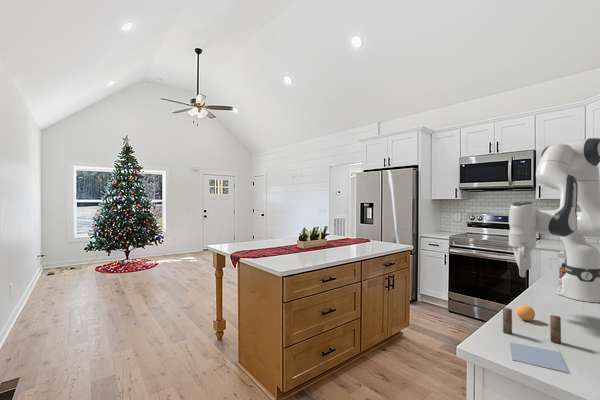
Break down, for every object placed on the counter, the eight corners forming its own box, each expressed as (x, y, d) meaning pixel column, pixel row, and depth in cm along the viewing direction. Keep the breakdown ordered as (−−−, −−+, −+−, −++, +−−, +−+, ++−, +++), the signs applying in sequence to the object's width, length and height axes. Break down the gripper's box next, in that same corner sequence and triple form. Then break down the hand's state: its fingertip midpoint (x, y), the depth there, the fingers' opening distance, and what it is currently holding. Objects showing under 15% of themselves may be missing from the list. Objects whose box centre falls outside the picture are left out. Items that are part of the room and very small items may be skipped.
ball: (516, 316, 114) (515, 302, 114) (534, 319, 111) (534, 304, 111) (517, 321, 109) (517, 306, 109) (536, 324, 106) (535, 309, 106)
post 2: (550, 339, 95) (549, 314, 95) (560, 341, 93) (559, 316, 93) (551, 342, 93) (550, 317, 93) (561, 344, 91) (561, 318, 91)
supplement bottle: (556, 283, 156) (555, 262, 156) (566, 283, 156) (566, 262, 156) (567, 286, 150) (567, 264, 150) (578, 286, 150) (577, 264, 150)
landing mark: (509, 342, 93) (509, 341, 93) (559, 352, 86) (559, 352, 86) (512, 360, 83) (512, 359, 83) (569, 373, 76) (569, 372, 76)
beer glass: (578, 281, 160) (577, 253, 160) (563, 280, 161) (562, 253, 161) (569, 277, 166) (568, 251, 166) (554, 277, 168) (554, 251, 168)
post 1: (503, 330, 102) (502, 307, 102) (511, 332, 100) (511, 308, 100) (503, 333, 99) (502, 309, 100) (512, 335, 98) (512, 311, 98)
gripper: (535, 245, 107) (535, 283, 107) (529, 239, 125) (529, 272, 125) (514, 244, 111) (514, 281, 111) (511, 238, 128) (511, 270, 128)
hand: (522, 276), depth 118 cm, fingers closed
